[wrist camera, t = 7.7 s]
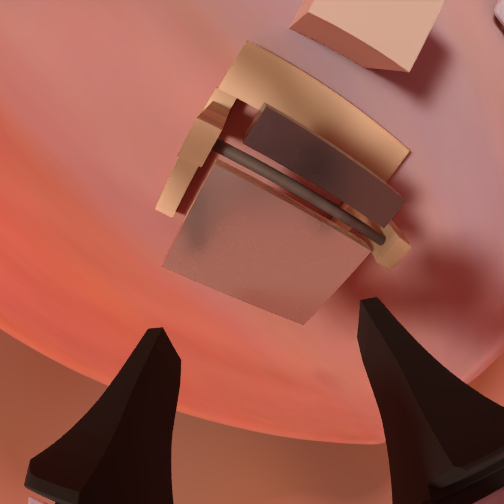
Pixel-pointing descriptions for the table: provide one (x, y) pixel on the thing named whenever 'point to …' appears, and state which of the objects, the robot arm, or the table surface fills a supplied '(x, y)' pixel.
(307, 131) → the trapdoor
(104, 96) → the table surface
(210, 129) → the frame
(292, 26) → the beige block
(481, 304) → the table surface
